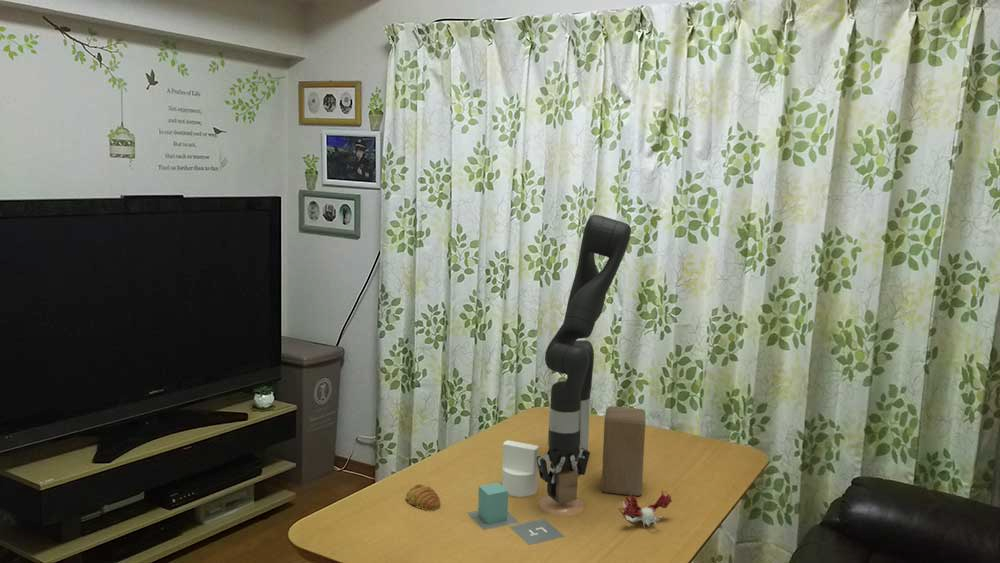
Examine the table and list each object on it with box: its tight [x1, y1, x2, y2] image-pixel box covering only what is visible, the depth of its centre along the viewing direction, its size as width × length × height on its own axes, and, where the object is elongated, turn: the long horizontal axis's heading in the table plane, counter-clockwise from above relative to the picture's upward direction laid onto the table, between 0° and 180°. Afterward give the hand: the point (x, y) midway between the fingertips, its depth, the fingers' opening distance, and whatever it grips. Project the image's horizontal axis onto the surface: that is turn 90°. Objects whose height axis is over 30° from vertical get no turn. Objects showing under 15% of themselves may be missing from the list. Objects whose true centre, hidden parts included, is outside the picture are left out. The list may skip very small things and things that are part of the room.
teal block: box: [477, 482, 509, 524], centre depth 165 cm, size 5×5×7 cm
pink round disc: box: [538, 495, 585, 516], centre depth 173 cm, size 11×11×1 cm
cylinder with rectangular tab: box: [501, 440, 540, 498], centre depth 180 cm, size 9×9×12 cm
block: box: [600, 405, 646, 497], centre depth 183 cm, size 10×10×20 cm
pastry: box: [405, 483, 442, 511], centre depth 172 cm, size 9×7×4 cm
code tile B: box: [467, 510, 520, 531], centre depth 166 cm, size 9×9×1 cm
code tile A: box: [509, 518, 565, 546], centre depth 159 cm, size 9×9×1 cm
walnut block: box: [547, 466, 579, 504], centre depth 172 cm, size 5×5×7 cm
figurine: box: [617, 490, 673, 530], centre depth 166 cm, size 15×12×7 cm
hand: (562, 493), depth 172 cm, fingers closed on walnut block, 5 cm apart
